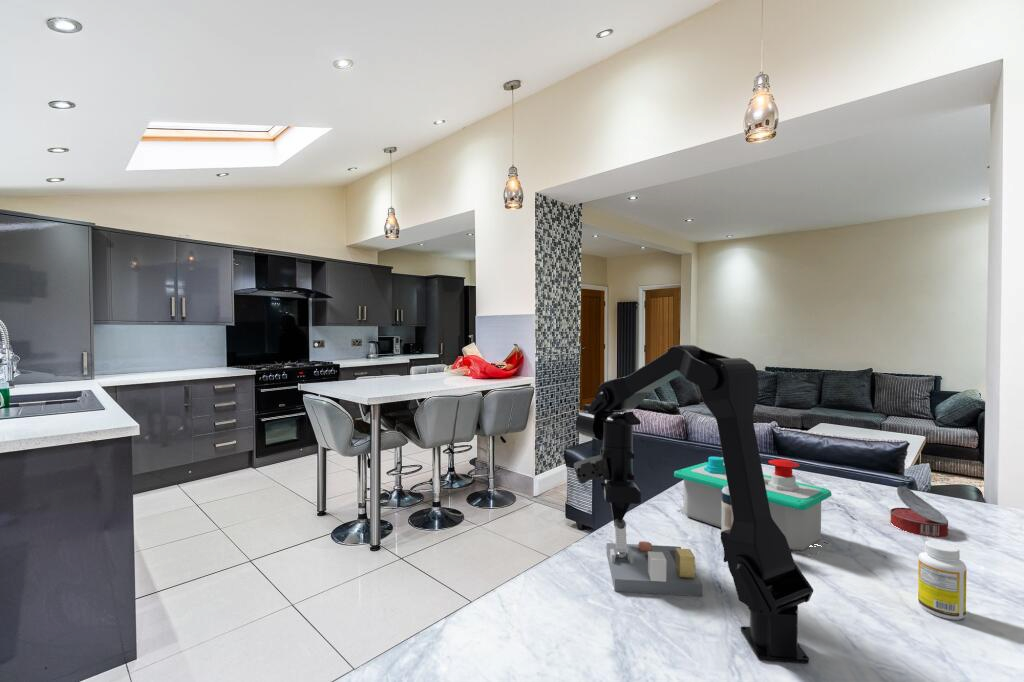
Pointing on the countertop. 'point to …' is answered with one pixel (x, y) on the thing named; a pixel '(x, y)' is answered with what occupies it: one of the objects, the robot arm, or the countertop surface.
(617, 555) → the toggle lever
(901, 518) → the canned food
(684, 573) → the brushed brass brick
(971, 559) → the countertop surface
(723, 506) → the beer can
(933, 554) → the supplement bottle
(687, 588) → the panel
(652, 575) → the white block
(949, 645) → the countertop surface
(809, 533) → the control panel
